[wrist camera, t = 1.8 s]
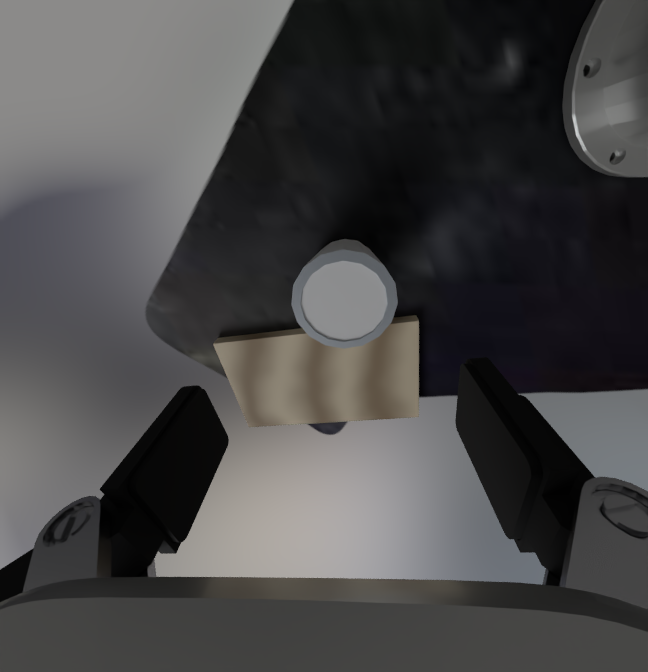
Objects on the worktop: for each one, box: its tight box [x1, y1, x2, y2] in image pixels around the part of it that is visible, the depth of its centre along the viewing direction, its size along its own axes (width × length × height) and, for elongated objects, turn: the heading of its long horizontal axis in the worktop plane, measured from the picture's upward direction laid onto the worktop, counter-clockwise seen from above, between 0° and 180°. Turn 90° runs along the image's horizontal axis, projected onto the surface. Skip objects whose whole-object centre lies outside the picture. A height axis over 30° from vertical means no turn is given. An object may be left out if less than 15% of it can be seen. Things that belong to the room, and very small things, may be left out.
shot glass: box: [291, 239, 398, 349], centre depth 20 cm, size 7×7×7 cm
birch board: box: [213, 315, 419, 427], centre depth 29 cm, size 20×12×1 cm, turn 100°
